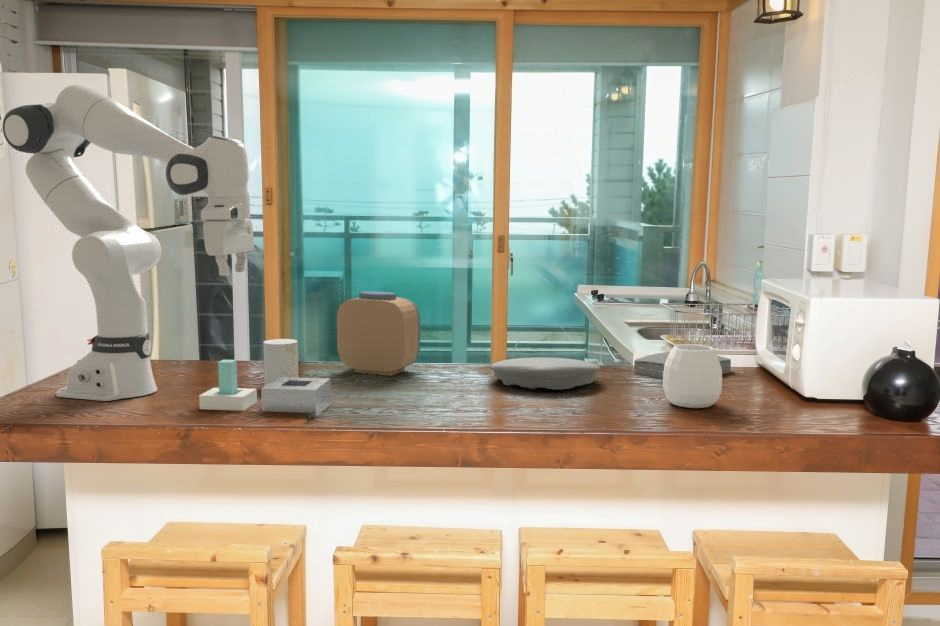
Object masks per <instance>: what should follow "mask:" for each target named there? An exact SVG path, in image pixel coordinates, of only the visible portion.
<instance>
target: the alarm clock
mask: <svg viewBox="0 0 940 626" xmlns="http://www.w3.org/2000/svg"><path fill="white" fill-rule="evenodd" d="M336 334H337V335H336V342H337V344H336V345H337V346H336V347H337V353H338V356H339V359H340V360H341V362H342V363H343V364H344V365H345V366H347V367H349V368H352V369H353V373H356V372H357V374H366V373H369V374H368V375H376V374H378V375H377V376H379V375H380V376H386V375H387V376H388V375H389V376H388V377H393V376H395V375H398V374H400V373H399V372H401V373H403V372H405V370H406V369H405V368H407V367H409V366H411V365H413V364H414V363H416V361H417V360H418V358H419V356H420V352H421V314H420V310H419V307H417V304H416V303H415V302H414V301H413V300H411V299H408V298H405V297H400V296H397V294H396V292H389V291H361V292H359V294H358V297H357V298H352V299H346V300H345V301H343V302H342V303H341V304H340V306H339V307H338V309H337V315H336ZM402 371H403V372H402ZM397 373H398V374H397ZM392 375H393V376H392Z"/></svg>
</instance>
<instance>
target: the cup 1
mask: <svg viewBox="0 0 940 626" xmlns="http://www.w3.org/2000/svg"><path fill="white" fill-rule="evenodd" d="M298 347H299V346H298V340H297V339H292V338H275V339H267V340H263V373H264V374H263V376H264V378H263V379H264V386H266V385H267V384H269V383H271V382H272V381H274V380H275V379H277V378H279V377H299V354H298V351H299V350H298Z"/></svg>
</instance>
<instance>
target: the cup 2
mask: <svg viewBox="0 0 940 626" xmlns="http://www.w3.org/2000/svg"><path fill="white" fill-rule="evenodd" d="M669 352H670V354H669V355H668V358H667V360H666V362H665V366H664V373H663V378H662V388H663V389H662V390H663V393H664V394H665V398H666V399H667V400H668V401H669V402H670V403H671V404H672V405H675V406H676V407H677V406H678V407H682V408H688V409H700V408H701V409H703V408H704V409H705V408H709V407H711V406H712V405H714V404H715V403H716V402H718V400H719V398H720V396H721V394H722V391H723V389H722V388H723V374H722V368H721V365H720V362H719V359H718V357H717V356H718V355H717V353H716V351H715V350H714V347H712V346H709V345H704V344H697V343H696V344H693V343H691V344H690V343H688V344H687V343H685V344H682V343H681V344H677V345H674V346H673V347H672V349H671V350H670V351H669Z"/></svg>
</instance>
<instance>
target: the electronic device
mask: <svg viewBox="0 0 940 626" xmlns="http://www.w3.org/2000/svg"><path fill="white" fill-rule="evenodd" d="M670 352H671V351H665V352H664V351H663V352H658V353H653V354H649V355H646V356H641V357H639V358H635V359H634V365H633V366H634V367H633V374H638V375H643V376H648V377H653V378H659V379H663V373H664V366H665V362H666V360H667V358H668V355H669V354H670ZM717 357H718V359H719V362H720V365H721V368H722V375H724V374H729V373H731V368H732V367H731V365H732V364H731V362H732V359H731V358H727V357H725V356H721V355H717Z"/></svg>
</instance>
